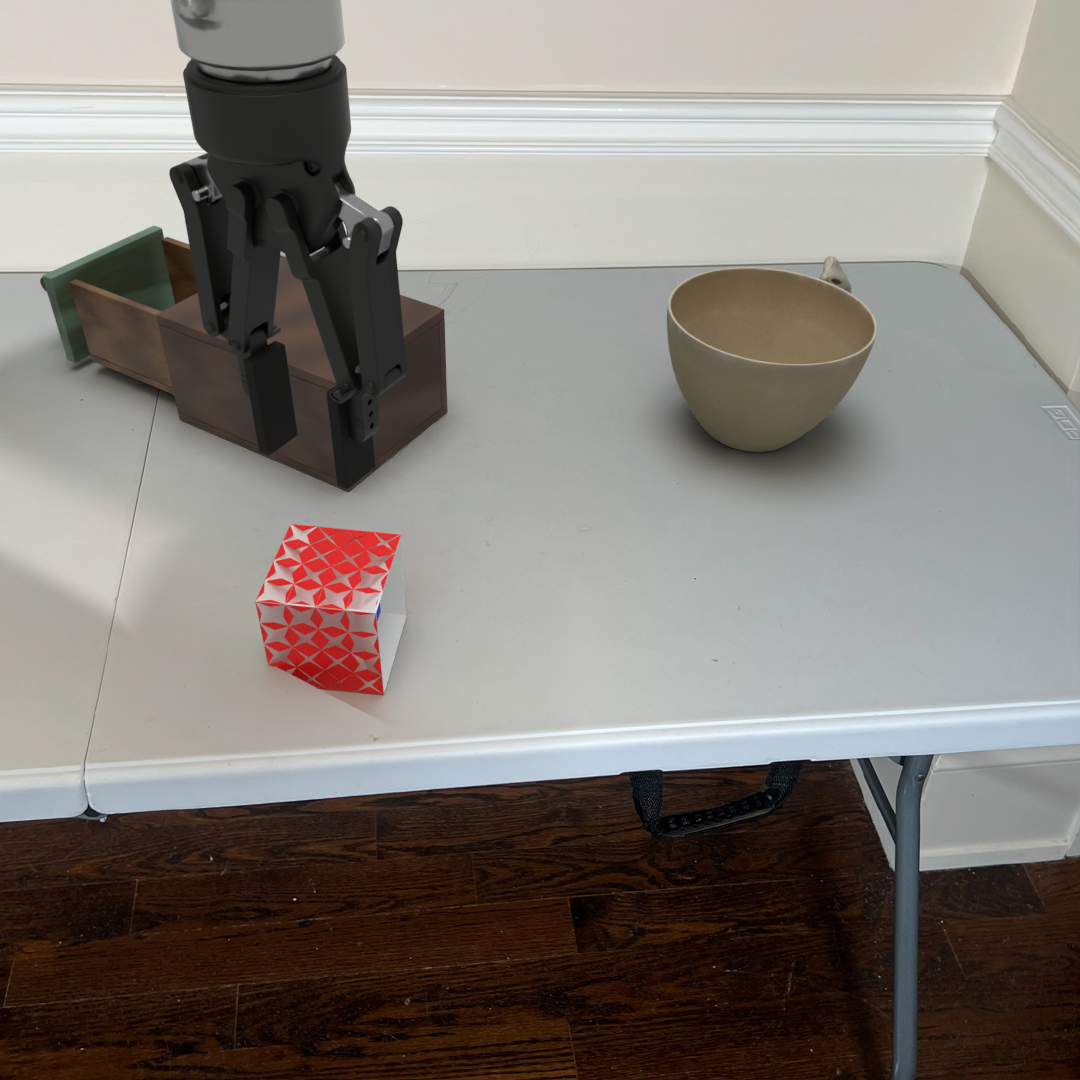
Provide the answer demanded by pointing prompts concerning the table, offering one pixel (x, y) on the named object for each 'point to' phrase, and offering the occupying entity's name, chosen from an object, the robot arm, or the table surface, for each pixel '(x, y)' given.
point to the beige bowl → (765, 352)
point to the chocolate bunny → (835, 274)
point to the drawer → (122, 303)
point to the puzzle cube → (334, 607)
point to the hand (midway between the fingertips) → (316, 458)
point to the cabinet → (302, 379)
